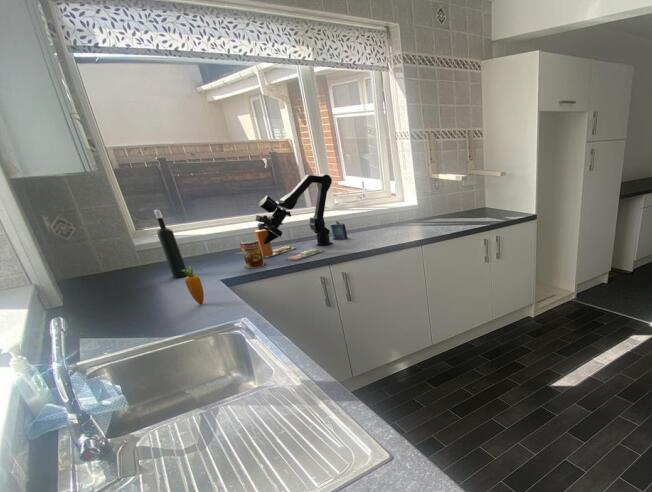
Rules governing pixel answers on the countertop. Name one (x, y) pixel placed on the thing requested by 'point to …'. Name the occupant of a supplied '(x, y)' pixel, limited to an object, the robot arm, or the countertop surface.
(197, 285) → the carrot
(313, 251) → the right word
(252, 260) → the canned food
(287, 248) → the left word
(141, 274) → the countertop surface
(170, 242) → the wine bottle
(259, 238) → the orange rectangular block
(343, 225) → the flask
